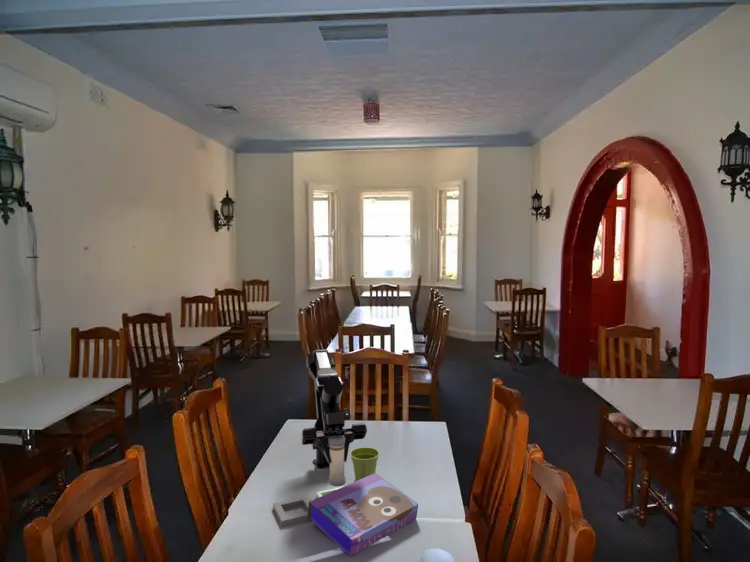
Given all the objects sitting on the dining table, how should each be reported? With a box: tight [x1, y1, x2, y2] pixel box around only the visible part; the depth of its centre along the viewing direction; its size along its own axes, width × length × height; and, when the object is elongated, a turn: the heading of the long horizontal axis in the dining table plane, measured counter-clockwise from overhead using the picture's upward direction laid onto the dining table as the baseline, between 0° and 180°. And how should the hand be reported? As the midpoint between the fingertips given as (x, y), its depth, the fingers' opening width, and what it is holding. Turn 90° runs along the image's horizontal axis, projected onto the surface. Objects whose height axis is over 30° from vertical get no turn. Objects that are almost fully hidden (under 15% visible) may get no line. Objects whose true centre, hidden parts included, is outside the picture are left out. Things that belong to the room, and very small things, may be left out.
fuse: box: [328, 435, 347, 487], centre depth 151 cm, size 5×5×13 cm
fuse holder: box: [272, 495, 311, 527], centre depth 146 cm, size 10×10×2 cm
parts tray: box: [315, 485, 345, 499], centre depth 152 cm, size 10×10×2 cm
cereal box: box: [308, 472, 419, 557], centre depth 141 cm, size 17×5×24 cm
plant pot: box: [349, 446, 380, 482], centre depth 167 cm, size 9×9×9 cm
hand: (337, 462), depth 149 cm, fingers closed on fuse, 4 cm apart
